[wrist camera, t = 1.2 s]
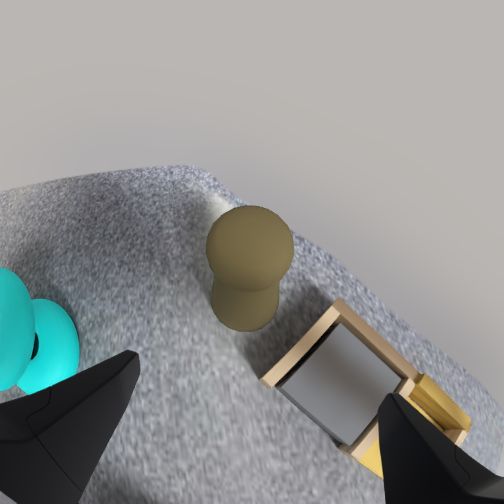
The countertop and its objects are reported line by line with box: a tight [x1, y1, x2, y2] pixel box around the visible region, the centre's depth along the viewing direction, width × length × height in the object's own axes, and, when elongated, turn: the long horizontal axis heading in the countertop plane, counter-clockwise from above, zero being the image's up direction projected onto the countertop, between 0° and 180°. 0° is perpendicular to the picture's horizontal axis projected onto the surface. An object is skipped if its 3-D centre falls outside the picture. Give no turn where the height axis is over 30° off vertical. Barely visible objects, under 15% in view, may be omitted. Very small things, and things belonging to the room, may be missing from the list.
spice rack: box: [259, 298, 472, 479], centre depth 18 cm, size 9×20×4 cm, turn 44°
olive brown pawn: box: [206, 205, 294, 332], centre depth 20 cm, size 6×6×11 cm
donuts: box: [0, 267, 80, 395], centre depth 16 cm, size 10×10×10 cm
